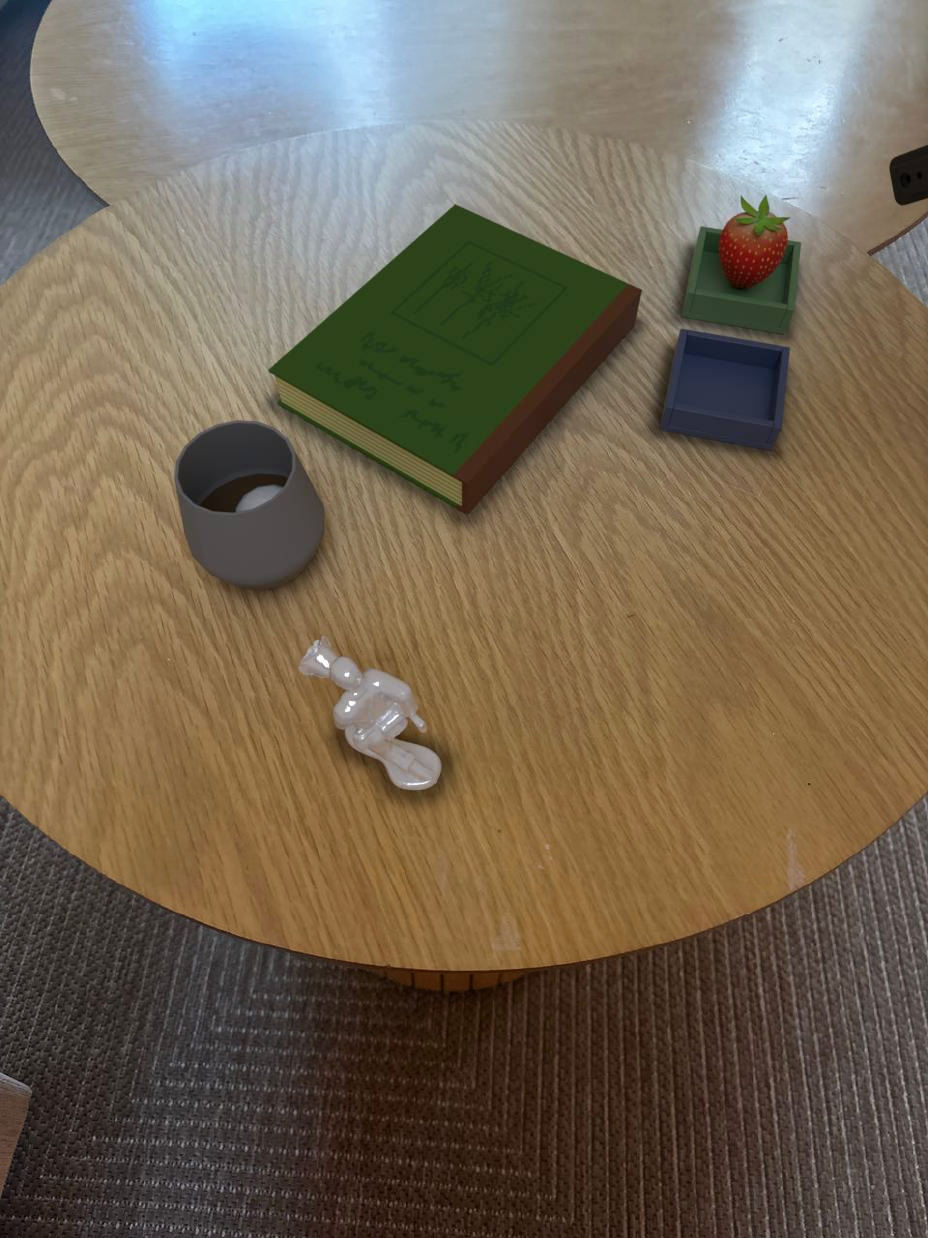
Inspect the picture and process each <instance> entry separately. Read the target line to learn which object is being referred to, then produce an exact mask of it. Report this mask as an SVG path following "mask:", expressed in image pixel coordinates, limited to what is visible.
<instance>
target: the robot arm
mask: <svg viewBox="0 0 928 1238" xmlns="http://www.w3.org/2000/svg"><path fill="white" fill-rule="evenodd" d="M888 169H889V177H890V180H891V187H892V192H893V198H894V200H895V202H896V203H897V205H899V206H908V205H910V204H915V203H917V202H920V201H924V200H927V199H928V144H925V145H923V146H920V147H917V148H915V149H912V150H909V151H907V152H904V153H901V154H899V155H896V156H894V157H893V158H892V159H891V160H890V161H889V166H888Z"/></svg>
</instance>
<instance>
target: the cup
mask: <svg viewBox="0 0 928 1238" xmlns="http://www.w3.org/2000/svg"><path fill="white" fill-rule="evenodd" d="M173 480H174V484H175V490H176V496H177V501H178V507H179V512H180V518H181V523H182V529H183V534H184V537H185V540H186V542H187V545H188V548H189V550H190V553H191V556H192V557H193V559H194V560H195V561H196V562H197V563H198V564H199V565H200V566H201V567H202V568H203V569H204V570H205V571H206V572H208V574H209V575H210V576H211V577H214V578H217V579H219V580H221V581H223V582H226V583H229V584H231V585H232V586H237V587H241V588H244V589H249V590H259V591H266V590H272V589H275V588H279V587H282V586H284V585H286V584H288V583H290V582H292V581H293V580H296V578H297V577H298V576H299V575H300V574H301V573H302V571H303V570H305V568H306V567H307V566H308V565H309V563H310V562H311V561H312V559H313V558H314V556H315V555H316V553H317V551H318V549H319V546H320V544H321V541H322V539H323V536H325V535H324V534H325V507H324V503H323V502H322V500H321V498H320V496H319V494H318V491H317V489H316V487H315V486H314V484H313V482H312V480H311V478H310V475H308V473H307V471H306V469H305V467H304V465H303V463H302V461H301V460H300V458H299V456H298V454H297V451H296V450H295V449H294V446H293V445H292V442H291V441H290V439H289V438H288V437H287V436H285V434H283V433H282V432H281V431H280V430H278V429H277V428H276V427H274V426H271V425H268V424H266V423H264V422H261V421H259V420H258V421H257V420H242V419H236V420H232V421H231V420H230V421H226V422H222V423H217V424H215V425H213V426H211V427H208V428H206V429H205V430H201V432H198V433H197V435H195V436H194V437H193V438H191V440H189V441H188V442H187V443H186V444H185V445H184V446H183V448H182V450H181V451H180V453H179V455H178V457H177V459H176V460H175V467H174V477H173Z"/></svg>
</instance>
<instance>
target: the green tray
mask: <svg viewBox="0 0 928 1238" xmlns="http://www.w3.org/2000/svg"><path fill="white" fill-rule="evenodd" d="M722 230H723V229H721V228H716V227H715V228H714V227H709V226H708V227H707V226H702V225H700V227H699V231H698V234H697V238H696V241H695V246H694V249H693V254H692V260H691V265H690V270H689V275H688V280H687V285H686V291H685V295H684V300H683V306H682V311H681V314H680V315H681V317H682V318H687V319H691V320H692V319H693V320H698V321H705V322H711V323H715V324H716V323H717V324H721V325H728V326H733V327H738V328H739V327H740V328H744V329H751V330H755V331H763V332H769V333H774V334H778V335H779V334H780V335H785V334H786V332H787V329H788V326H789V324H790V321H791V319H792V317H793V314H794V312H795V307H796V306H795V305H796V297H797V296H796V295H797V287H798V278H799V269H800V259H801V249H802V242H801V241H797V240H790V239H788V241H787V247H786V250H785V253H784V256H783V258H782V260H781V262H780V264H779V265H778V267H777V268H776V269H775V271H774V272H773V273H772V274H771V275H770V276H768V277H767V278H766V279H765V280H763V281H762V282H760V283H758V284H756V285H754V286H751V287H748V288H739V287H736V286H734V285H732V284H731V283H730V282H729V281H728V279H727V278H726V276H725V274H724V272H723V269H722V266H721V261H720V256H719V241H720V236H721V233H722Z"/></svg>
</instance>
